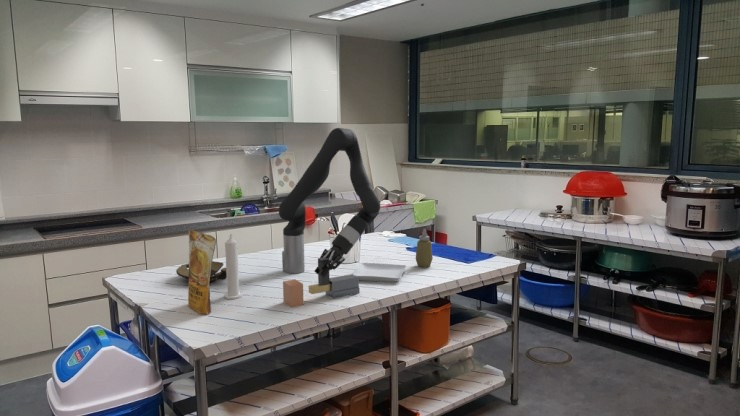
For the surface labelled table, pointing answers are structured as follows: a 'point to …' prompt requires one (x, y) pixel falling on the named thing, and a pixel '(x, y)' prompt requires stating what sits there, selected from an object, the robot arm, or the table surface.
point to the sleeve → (343, 286)
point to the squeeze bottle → (424, 251)
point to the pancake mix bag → (200, 270)
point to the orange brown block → (293, 293)
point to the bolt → (321, 279)
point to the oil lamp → (215, 268)
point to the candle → (232, 269)
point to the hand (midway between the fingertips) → (319, 274)
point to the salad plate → (379, 272)
